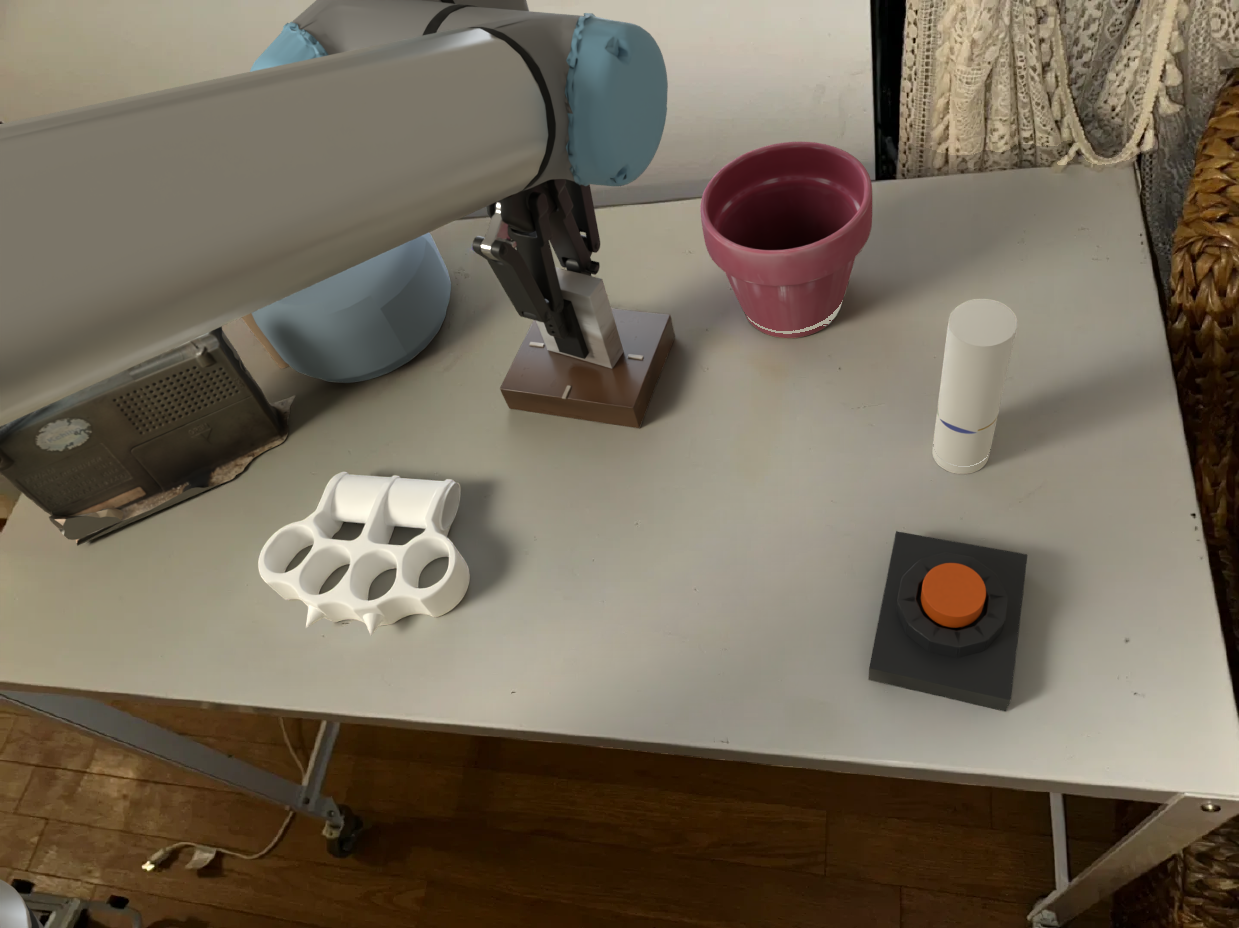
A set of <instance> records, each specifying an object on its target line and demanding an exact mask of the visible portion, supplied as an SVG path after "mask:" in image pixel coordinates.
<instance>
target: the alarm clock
mask: <svg viewBox="0 0 1239 928" xmlns="http://www.w3.org/2000/svg"><path fill="white" fill-rule="evenodd" d="M447 267H448V266H447V265H446V263H445V261H444V259H443V257H442V254H441V253H440V251H439V249H438V246H437V244H436V242H435V240H434V238H433V236H432V234H431V232H429V233H427V234H424V235H422V236H420V237H418V238H416V239H413V240H411V241H409V242H407V243H404V244H402V245H400V246H398V247H396V248H393V249H391V250H389V251H387V252H385V253H382V254H380V255H378V256H376V257H374V258H371V259H369V260H367V261H365V262H363V263H360V264H358V265H356V266H354V267H352V268H349V269H347V270H345V271H343V272H340V273H338V274H336V275H334V276H332V277H329V278H327V279H325V280H323V281H321V282H318V283H316V284H314V285H312V286H310V287H307V288H305V289H303V290H301V291H299V292H296V293H294V294H292V295H290V296H287V297H285V298H283V299H281V300H279V301H276V302H274V303H272V304H270V305H268V306H265V307H263V308H261V309H259V310H257V311H254V312H252V313H250V314H248V315H246V316H243V317H241V319H242V321H243V322H244V323H245V324H246V326H247V327H248V329H250V331H251V332H252V333H253V335H254V336H255V337H256V339H257V340H258V341H259V343H260V344H261V345H262V347H263V348H264V349H265V351H266V352H267V353H268V354H269V355H270V357H271V358H272V359H273V361H274V362H275V364H276V365H277V366H278V368H279V369H285V368H289V367H290V368H291V369H293V370H294V371H296V372H297V373H300V374H302V375H305V376H307V377H311V378H314V379H320V380H322V381H325V382H329V383H339V384H341V383H342V384H350V383H357V382H363V381H369V380H372V379H374V378H378V377H381V376H383V375H384V376H385V375H387V374H389V373H391V372H393V371H395V370H397V369H398V368H400V367H402V366H403V365H406V364H407V363H409V362H410V361H412V360H413V359H414V358H415V357H416V356H417V355H419V354H420V353H421V352H423V350H425V349H426V348H428V347H427V346H428V345H429V344H430V343H431V342H432V341H433V339H434V338H435V337H436V335H437V334H438V333H439V331H440V329H441V327H442V324H443V323H444V320H445V317H446V316H447V309H448V306H449V305H450V299H451V293H452V292H451V290H452V282H451V278H450V273H449V270H448V268H447Z"/></svg>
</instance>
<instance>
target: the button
mask: <svg viewBox="0 0 1239 928" xmlns="http://www.w3.org/2000/svg"><path fill="white" fill-rule="evenodd" d="M985 598H986V588H985V584H984V582H983V580H982V578H981V577H980V576H979V575H978V574H977V573H976V572H975V571H974V570H973V569H971V568H969V567H967V566H965V565H962V564H958V563H945V564H941V565H938V566H936V567H934V568H933V569H931V570H930V571H929V572H928V573H927V575H926V576H925V578H924V580H923V585H922V592H921V604H922V607H923V609H924V611H925V613H926V614H927V615H928V616H929V618H931V619H932V620H933V621H935V622H936V623H938V624H940V625H942V626H946V627H951V628H958V627H964V626H967V625H969V624H971V623H973V622H974V621H975V620H976V619H977V618H978V617H979V616H980V614H981V612H982V609H983V605H984V602H985Z"/></svg>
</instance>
